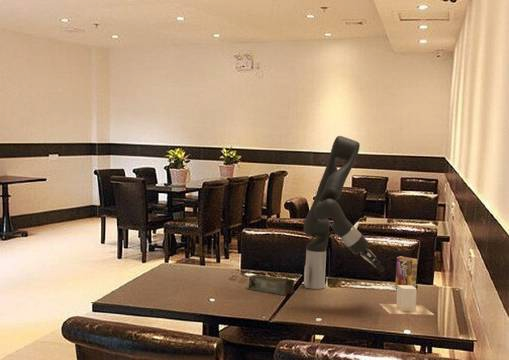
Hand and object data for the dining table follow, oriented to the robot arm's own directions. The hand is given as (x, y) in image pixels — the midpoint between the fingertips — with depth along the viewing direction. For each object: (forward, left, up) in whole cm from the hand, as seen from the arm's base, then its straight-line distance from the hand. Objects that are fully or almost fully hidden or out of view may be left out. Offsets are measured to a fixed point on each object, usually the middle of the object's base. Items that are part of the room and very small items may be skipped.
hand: (380, 269), depth 234 cm
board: (+11, 0, -17) cm, 20 cm away
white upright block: (+11, 0, -16) cm, 19 cm away
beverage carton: (-41, +28, -17) cm, 52 cm away
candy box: (+23, +38, -17) cm, 48 cm away
